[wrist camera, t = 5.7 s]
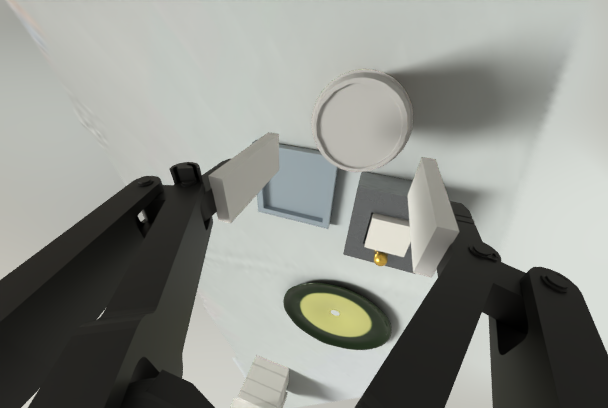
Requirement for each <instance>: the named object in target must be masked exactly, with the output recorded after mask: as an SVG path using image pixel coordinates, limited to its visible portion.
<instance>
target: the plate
mask: <svg viewBox="0 0 608 408" xmlns="http://www.w3.org/2000/svg"><path fill="white" fill-rule="evenodd" d="M284 308H285V311H286V312H287V314H288V315H289V317H290V318H291V319H292V321H293V322H294V323H295V324H296V325H297V326H298V327H299V328H300V329H302V330H303V331H304V332H306V333H307V334H309V335H311V336H312V337H314V338H316V339H317V340H319V341H321V342H323V343H326V344H329V345H333V346H337V347H341V348H346V349H353V350H367V349H373V348H377V347H379V346H382V345H383V344H385V343H386V342H387V341H388V340H389V338H390V336H391V325H390V322H389V320H388V318H387V317H386V315H385V314H384V313H383V312H382V311H381V310H380V309H379V308H378V307H377V306H376V305H374V304H373V303H372V302H371V301H369V300H368V299H366V298H365V297H363V296H361V295H359V294H357V293H355V292H353V291H351V290H348V289H345V288H342V287H339V286H335V285H330V284H324V283H305V284H301V285H297V286H294V287H292V288H290V289H289V290H288V291H287V292H286V294H285V297H284ZM331 310H336V311H338V312H339V313H340V315H339V316H335V315H333V314H331V312H330V311H331Z"/></svg>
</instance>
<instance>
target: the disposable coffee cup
mask: <svg viewBox="0 0 608 408" xmlns="http://www.w3.org/2000/svg"><path fill="white" fill-rule="evenodd" d="M413 118H414V117H413V108H412V104H411V101H410V99H409V96H408V94H407V92H406V91H405V89H404V88H403V87H402V85H401V84H400V83H399V82H398V81H397V80H396V79H394V78H393V77H391V76H389V75H387V74H386V73H383V72H380V71H377V70H371V69H358V70H353V71H349V72H347V73H344V74H342V75H340V76H338V77H337V78H335V79H334V80H332V81H331V82H330V83H329V84H328V85H327V86H326V87H325V88H324V89H323V90H322V92H321V93H320V95H319V97H318V98H317V100H316V103H315V105H314V108H313V113H312V122H311V127H312V133H313V137H314V140H315V143H316V145H317V147H318V149H319V151H320V153H321V154H322V155H323V156H324V158H326V159H327V160H328V161H329V162H330V163H331V164H333V165H335V166H336V167H338V168H340V169H343V170H346V171H351V172H366V171H370V170H374V169H376V168H379V167H381V166H383V165H385V164H387V163H388V162H390V161H391V160H393V159H394V158H395V157H396V156H397V155H398V154H399V153H400V152H401V151H402V150H403V148H404V147H405V145H406V143H407V141H408V140H409V137H410V134H411V131H412V126H413Z"/></svg>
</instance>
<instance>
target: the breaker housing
mask: <svg viewBox="0 0 608 408" xmlns="http://www.w3.org/2000/svg"><path fill="white" fill-rule="evenodd" d="M412 182H413V181H412V180H407V179H401V178H396V177H390V176H385V175H380V174H374V173H369V172H362V173H361V177H360V181H359V184H358V188H357V193H356V198H355V202H354V207H353V212H352V216H351V221H350V226H349V230H348V235H347V240H346V244H345V249H344V255H348V256H351V257H355V258H359V259H362V260H366V261H370V262H374V263H375V264H376V265H378V266H384V265H385V266H388V267H392V268H396V269H399V270H403V271H407V272H410V273H413V264H412V250H411V242H410V245H409V247H408V249H407V251H406V253H405V256H404V257H400V256H397V255H393V254H389V253H385V252H381V251H377V250H373V249H369V248H366V247H364V246H365V240H366V233H367V227H368V223H369V220H370V216H371V212H374V213H378V214H383V215H387V216H392V217H396V218H401V219H405V220H409V209H408V192H409V190H410V187H411V184H412ZM445 189H446V188H445ZM446 192H447V191H446ZM447 195H448V194H447ZM448 198H449V197H448ZM449 201H450V200H449ZM414 274H416V273H414Z"/></svg>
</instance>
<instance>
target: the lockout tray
mask: <svg viewBox="0 0 608 408" xmlns="http://www.w3.org/2000/svg"><path fill="white" fill-rule="evenodd" d="M256 141H257V140H255V141H254V142H256ZM254 142H253V143H254ZM253 143H252V144H253ZM337 172H338V167H336V166H335V165H333V164H331V163H330V162H329V161H328V160H327V159H326V158H324V156H323V155H322V154H321V153H320V151H319V150H313V149H307V148H302V147H296V146H290V145H284V144H279V171H278V172H277V173H276V174H275V175H274V176H273V177H272V178H271V179H270V181H269V182H268V183H267V184H266V185H265V186H264V187H263V188H262V189H261V191H260V192H259V193H258V194H257V201H258V211H259V212H262V213H266V214H270V215H274V216H278V217H282V218H286V219H290V220H294V221H298V222H302V223H306V224H310V225H314V226H318V227H322V228H326V229H328V228H329V225H330V219H331V212H332V206H333V199H334V192H335V185H336V178H337Z"/></svg>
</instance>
